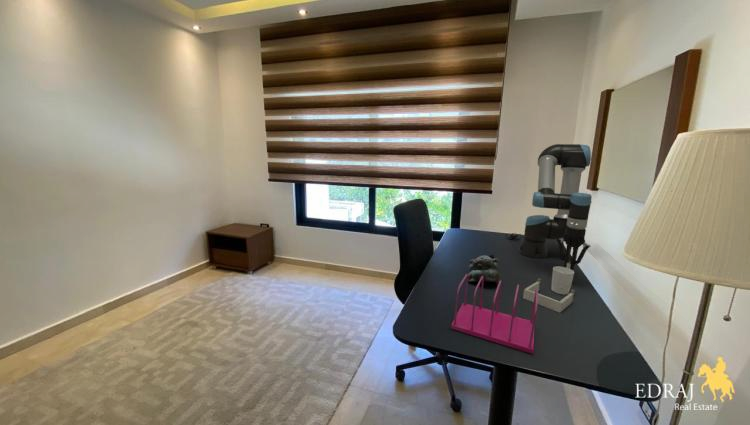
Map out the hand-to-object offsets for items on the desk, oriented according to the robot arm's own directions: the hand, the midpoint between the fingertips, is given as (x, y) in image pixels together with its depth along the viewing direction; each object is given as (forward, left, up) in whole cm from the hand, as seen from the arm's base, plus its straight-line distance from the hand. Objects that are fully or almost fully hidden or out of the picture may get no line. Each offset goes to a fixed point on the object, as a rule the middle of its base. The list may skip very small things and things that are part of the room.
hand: (567, 276), depth 139 cm
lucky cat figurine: (+31, -25, -4) cm, 40 cm away
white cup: (+12, +1, -4) cm, 12 cm away
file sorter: (+61, -2, -4) cm, 62 cm away
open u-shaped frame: (+25, +1, -4) cm, 25 cm away
